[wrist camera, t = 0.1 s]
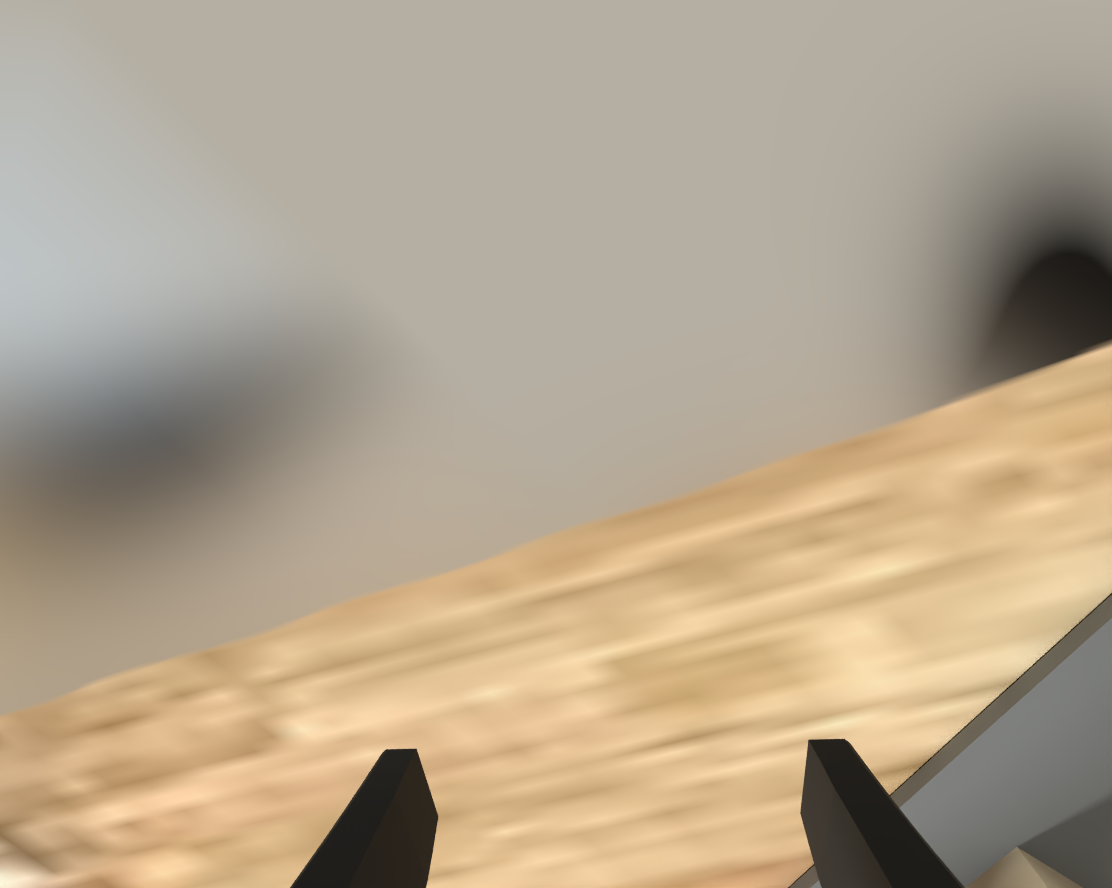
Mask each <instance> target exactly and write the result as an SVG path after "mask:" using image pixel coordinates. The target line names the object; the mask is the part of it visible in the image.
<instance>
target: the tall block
mask: <svg viewBox="0 0 1112 888" xmlns="http://www.w3.org/2000/svg"><path fill="white" fill-rule="evenodd" d="M966 888H1083V887H1081V886H1079V885H1078V884H1076V883H1075V882H1073V881H1071V880H1070V879H1068V878H1066V877H1065V876H1063V875H1062V874H1060V873H1058V872H1057V871H1055V870H1054V869H1052V868H1050V867H1049V866H1047V865H1045V864H1044V863H1042V862H1041V861H1039V860H1037V859H1036V858H1034V857H1033V856H1031V855H1029V854H1028V853H1026V852H1024V851H1023V850H1021V849H1020V848H1018V847H1015V848H1014V849H1013V850H1012V851H1011V852H1009V853H1008V854H1007V855H1006V856H1004V857H1003V858H1002V859H1001V860H999V861H998V862H997V863H996V864H994V865H993V866H992V867H991V868H989V869H988V870H987V871H986V872H984V873H983V874H982V875H981V876H979V877H978V878H977V879H976V880H974V881H973V882H972V883H971V884H969V885H968V886H967V887H966Z"/></svg>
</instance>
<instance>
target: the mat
mask: <svg viewBox="0 0 1112 888" xmlns="http://www.w3.org/2000/svg"><path fill="white" fill-rule="evenodd" d="M890 797H891V798H892V799H893V801H894V802H895V803H896V805H897V806H898V807H899V808H900V810H901V811H902V812H903V813H904V815H905V816H906V817H907V818H908V820H909V821H910V822H911V823H912V825H913V826H914V827H915V828H916V830H917V831H918V832H919V833H920V835H921V836H922V837H923V838H924V839H925V841H926V842H927V843H928V844H929V846H930V847H931V848H932V849H933V850H934V852H935V853H936V854H937V855H938V856H939V858H940V859H941V860H942V861H943V862H944V863H945V865H946V866H947V867H948V868H949V869H950V871H951V872H952V873H953V874H954V875H955V876H956V878H957V879H958V880H959V881H960V882H961V884H962V885H963V886H964V887H965V888H966V887H967V886H968V885H969V884H971V883H972V882H973V881H974V880H976V879H977V878H978V877H979V876H981V875H982V874H983V873H984V872H986V871H987V870H988V869H989V868H991V867H992V866H993V865H994V864H996V863H997V862H998V861H999V860H1001V859H1002V858H1003V857H1004V856H1006V855H1007V854H1008V853H1009V852H1011V851H1012V850H1013V849H1014V848H1015V847H1018V848H1020V849H1021V850H1023V851H1024V852H1026V853H1028V854H1029V855H1031V856H1033V857H1034V858H1036V859H1037V860H1039V861H1041V862H1042V863H1044V864H1045V865H1047V866H1049V867H1050V868H1052V869H1054V870H1055V871H1057V872H1058V873H1060V874H1062V875H1063V876H1065V877H1066V878H1068V879H1070V880H1071V881H1073V882H1075V883H1076V884H1078V885H1079V886H1081V887H1083V888H1112V595H1111V596H1110V597H1108V598H1107V599H1106V600H1105V601H1104V602H1103V603H1102V604H1101V605H1100V606H1099V607H1097V608H1096V609H1095V610H1094V611H1093V612H1092V613H1091V614H1090V615H1089V616H1088V617H1086V618H1085V619H1084V620H1083V621H1082V622H1081V623H1080V624H1079V625H1078V626H1077V627H1075V628H1074V629H1073V630H1072V631H1071V632H1070V633H1069V634H1068V635H1067V636H1066V637H1064V638H1063V639H1062V640H1061V641H1060V642H1059V643H1058V644H1057V645H1056V646H1055V647H1053V648H1052V649H1051V650H1050V651H1049V652H1048V653H1047V654H1046V655H1045V656H1044V657H1042V658H1041V659H1040V660H1039V661H1038V662H1037V663H1036V664H1035V665H1034V666H1033V667H1031V668H1030V669H1029V670H1028V671H1027V672H1026V673H1025V674H1024V675H1023V676H1022V677H1020V678H1019V679H1018V680H1017V681H1016V682H1015V683H1014V684H1013V685H1012V686H1011V687H1009V688H1008V689H1007V690H1006V691H1005V692H1004V693H1003V694H1002V695H1001V696H1000V697H999V698H997V699H996V700H995V701H994V702H993V703H992V704H991V705H990V706H989V707H988V708H986V709H985V710H984V711H983V712H982V713H981V714H980V715H979V716H978V717H977V718H975V719H974V720H973V721H972V722H971V723H970V724H969V725H968V726H967V727H966V728H964V729H963V730H962V731H961V732H960V733H959V734H958V735H957V736H956V737H955V738H953V739H952V740H951V741H950V742H949V743H948V744H947V745H946V746H945V747H944V748H942V749H941V750H940V751H939V752H938V753H937V754H936V755H935V756H934V757H933V758H931V759H930V760H929V761H928V762H927V763H926V764H925V765H924V766H923V767H922V768H920V769H919V770H918V771H917V772H916V773H915V774H914V775H913V776H912V777H911V778H909V779H908V780H907V781H906V782H905V783H904V784H903V785H902V786H901V787H900V788H898V789H897V790H896V791H895V792H894V793H893V794H892V795H891V796H890ZM790 888H822V887H821V885H820V882H819V878H818V875H817V871H816V868H815V865H814V866H813V867H812V868H811V869H809V870H808V871H807V872H806V873H805V874H804V875H803V876H802V877H801V878H800V879H798V880H797V881H796V882H795V883H794V884H793V885H792V886H791V887H790Z"/></svg>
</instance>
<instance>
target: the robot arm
mask: <svg viewBox="0 0 1112 888" xmlns="http://www.w3.org/2000/svg"><path fill="white" fill-rule="evenodd" d="M800 813H801V817H802V821H803V824H804V828H805V832H806V835H807V839H808V843H809V846H810V850H811V854H812V857H813V861H814V864H815V868H816V871H817V875H818V878H819V882H820V885H821V887H822V888H965V887H964V886H963V885H962V884H961V882H960V881H959V880H958V879H957V878H956V876H955V875H954V874H953V873H952V872H951V871H950V869H949V868H948V867H947V866H946V865H945V863H944V862H943V861H942V860H941V859H940V858H939V856H938V855H937V854H936V853H935V852H934V850H933V849H932V848H931V847H930V846H929V844H928V843H927V842H926V841H925V839H924V838H923V837H922V836H921V835H920V833H919V832H918V831H917V830H916V828H915V827H914V826H913V825H912V823H911V822H910V821H909V820H908V818H907V817H906V816H905V815H904V813H903V812H902V811H901V810H900V808H899V807H898V806H897V805H896V803H895V802H894V801H893V799H892V798H891V797H890V796H889V794H888V793H887V792H886V790H885V789H884V788H883V787H882V785H881V784H880V783H879V781H878V780H877V779H876V777H875V776H874V775H873V773H872V772H871V771H870V769H869V768H868V767H867V765H866V764H865V763H864V761H863V760H862V759H861V757H860V756H859V755H858V753H857V752H856V751H855V749H854V748H853V747H852V745H851V744H850V743H849V742H848V741H847V740H845V739H821V740H808V749H807V758H806V767H805V776H804V785H803V794H802V803H801V812H800ZM437 821H438V814H437V811H436V808H435V805H434V802H433V799H432V796H431V792H430V789H429V786H428V783H427V780H426V777H425V774H424V771H423V768H422V764H421V761H420V758H419V755H418V752H417V749H386V750H385V751H384V752H383V753H382V754H381V756H380V757H379V759H378V760H377V762H376V763H375V765H374V766H373V768H372V769H371V771H370V772H369V774H368V775H367V777H366V779H365V780H364V782H363V783H362V785H361V786H360V788H359V789H358V791H357V792H356V794H355V795H354V797H353V798H352V800H351V801H350V803H349V804H348V806H347V807H346V809H345V810H344V812H343V813H342V815H341V816H340V817H339V819H338V820H337V822H336V823H335V825H334V826H333V828H332V829H331V831H330V832H329V834H328V835H327V836H326V838H325V839H324V841H323V842H322V844H321V845H320V846H319V848H318V849H317V851H316V852H315V853H314V855H313V856H312V858H311V859H310V860H309V862H308V863H307V865H306V866H305V868H304V869H303V870H302V872H301V873H300V875H299V876H298V877H297V879H296V880H295V882H294V883H293V884H292V886H291V887H290V888H426V885H427V881H428V875H429V869H430V864H431V858H432V853H433V846H434V840H435V834H436V827H437Z"/></svg>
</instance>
